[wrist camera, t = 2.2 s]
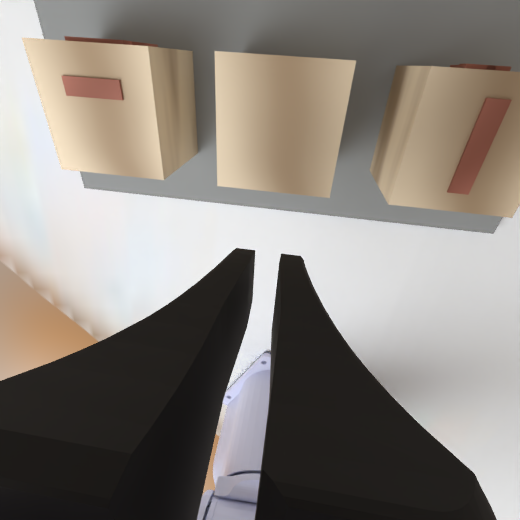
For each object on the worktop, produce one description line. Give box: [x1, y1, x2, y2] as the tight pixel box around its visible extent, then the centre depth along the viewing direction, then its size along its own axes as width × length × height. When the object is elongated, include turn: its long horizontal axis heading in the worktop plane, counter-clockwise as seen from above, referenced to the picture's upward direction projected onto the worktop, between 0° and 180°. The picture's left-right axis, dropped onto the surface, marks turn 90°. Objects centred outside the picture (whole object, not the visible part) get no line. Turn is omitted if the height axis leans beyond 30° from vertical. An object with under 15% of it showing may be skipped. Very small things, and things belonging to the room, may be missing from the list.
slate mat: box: [34, 0, 520, 234], centre depth 16 cm, size 26×11×1 cm, turn 88°
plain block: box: [215, 51, 356, 198], centre depth 14 cm, size 5×5×5 cm
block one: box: [370, 64, 520, 218], centre depth 13 cm, size 5×5×5 cm
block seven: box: [22, 36, 198, 180], centre depth 15 cm, size 5×5×5 cm
